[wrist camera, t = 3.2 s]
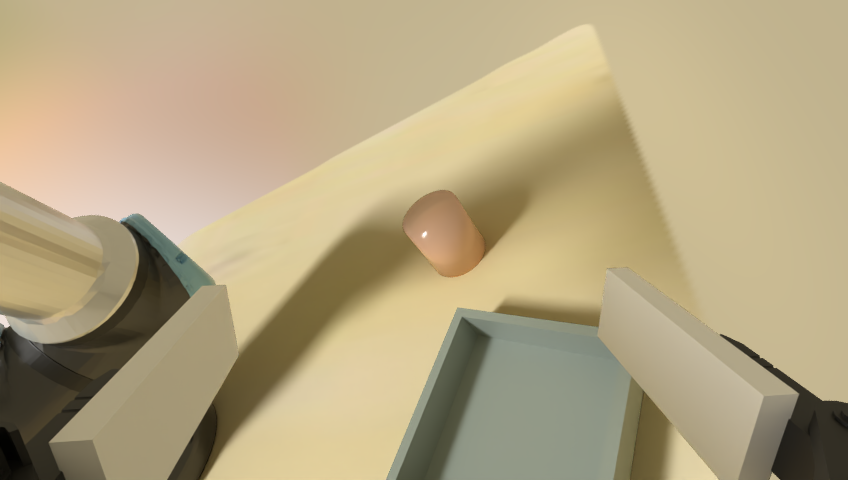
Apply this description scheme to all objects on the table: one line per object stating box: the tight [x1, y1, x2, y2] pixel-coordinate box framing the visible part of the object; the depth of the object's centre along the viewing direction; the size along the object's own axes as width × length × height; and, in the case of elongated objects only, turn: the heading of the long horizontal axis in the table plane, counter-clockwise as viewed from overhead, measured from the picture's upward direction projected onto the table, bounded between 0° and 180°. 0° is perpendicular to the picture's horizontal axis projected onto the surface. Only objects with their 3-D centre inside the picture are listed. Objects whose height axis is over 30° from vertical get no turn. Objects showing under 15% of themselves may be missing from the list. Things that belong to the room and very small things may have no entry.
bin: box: [386, 308, 644, 480], centre depth 30 cm, size 17×15×4 cm
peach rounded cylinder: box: [403, 190, 486, 277], centre depth 45 cm, size 6×6×7 cm
